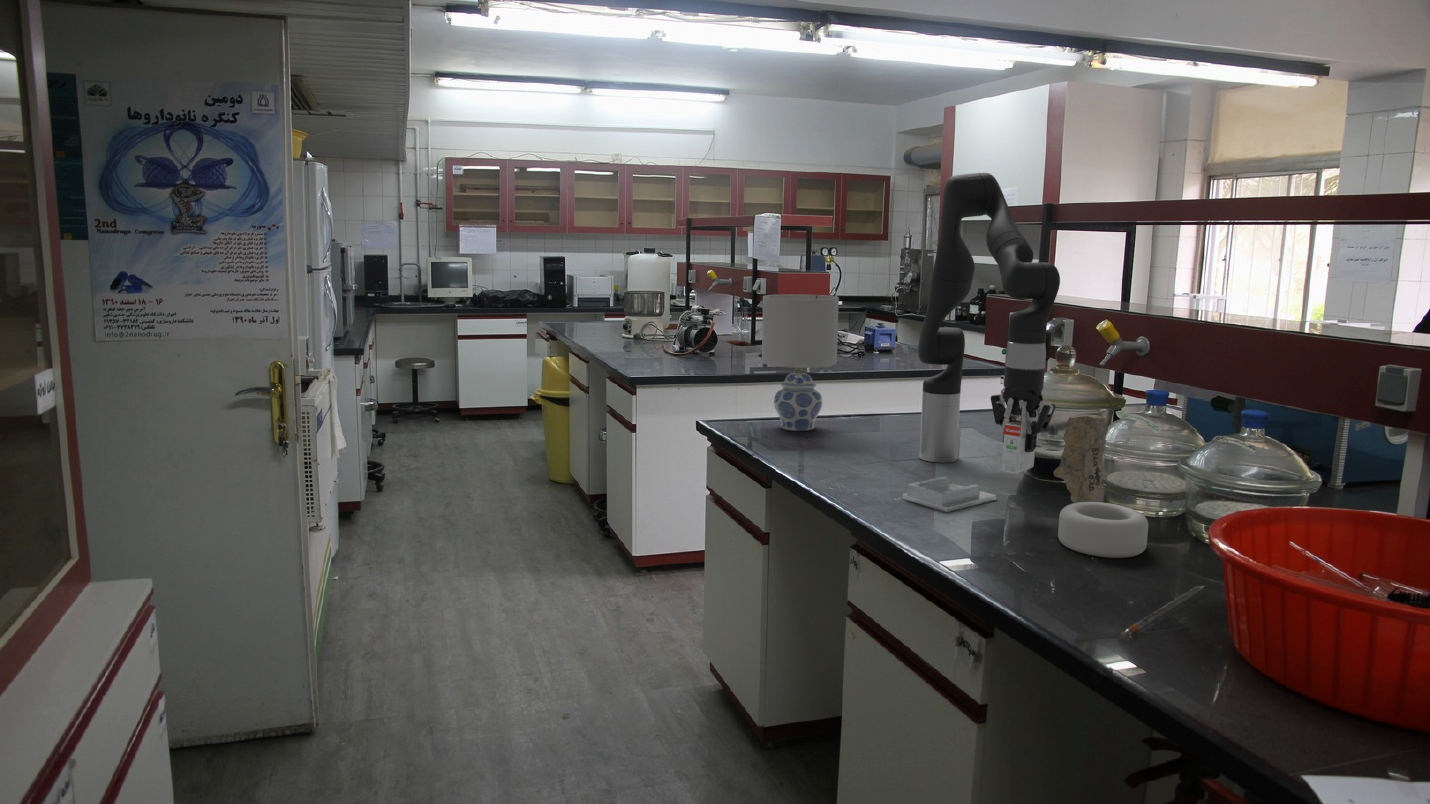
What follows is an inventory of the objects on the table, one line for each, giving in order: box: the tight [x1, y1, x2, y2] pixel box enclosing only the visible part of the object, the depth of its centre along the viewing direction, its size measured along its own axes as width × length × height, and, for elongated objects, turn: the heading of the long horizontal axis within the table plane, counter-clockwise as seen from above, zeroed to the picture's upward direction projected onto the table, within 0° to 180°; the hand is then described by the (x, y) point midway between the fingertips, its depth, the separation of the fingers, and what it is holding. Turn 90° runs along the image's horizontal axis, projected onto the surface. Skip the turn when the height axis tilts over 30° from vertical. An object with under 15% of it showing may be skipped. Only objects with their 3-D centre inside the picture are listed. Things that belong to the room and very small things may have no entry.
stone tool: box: [1053, 414, 1109, 504], centre depth 193 cm, size 12×6×20 cm, turn 96°
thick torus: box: [1057, 501, 1149, 559], centre depth 171 cm, size 15×15×7 cm
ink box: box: [1001, 401, 1036, 475], centre depth 187 cm, size 4×8×15 cm, turn 139°
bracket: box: [902, 475, 997, 513], centre depth 200 cm, size 16×12×4 cm
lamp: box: [761, 293, 840, 432], centre depth 270 cm, size 22×22×38 cm
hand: (1018, 448), depth 188 cm, fingers closed on ink box, 4 cm apart
